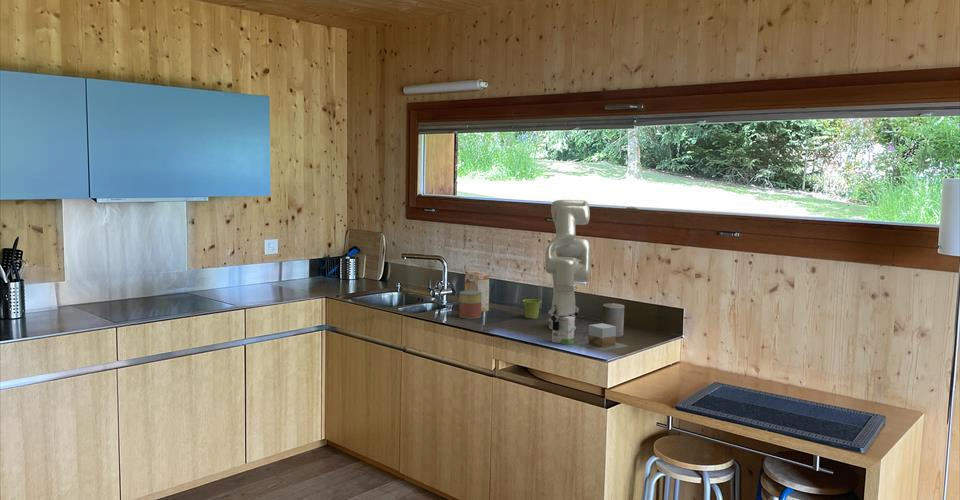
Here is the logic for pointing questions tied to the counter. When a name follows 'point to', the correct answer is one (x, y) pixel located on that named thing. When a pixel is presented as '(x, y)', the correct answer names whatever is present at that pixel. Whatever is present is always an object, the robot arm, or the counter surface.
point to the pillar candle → (614, 316)
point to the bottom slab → (601, 341)
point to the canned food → (470, 304)
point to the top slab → (602, 330)
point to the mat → (585, 343)
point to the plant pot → (531, 308)
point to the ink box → (564, 330)
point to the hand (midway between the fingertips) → (563, 329)
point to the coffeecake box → (478, 286)
